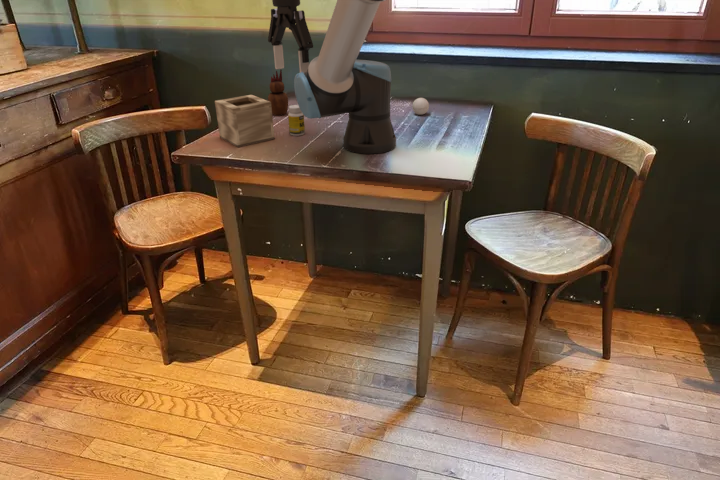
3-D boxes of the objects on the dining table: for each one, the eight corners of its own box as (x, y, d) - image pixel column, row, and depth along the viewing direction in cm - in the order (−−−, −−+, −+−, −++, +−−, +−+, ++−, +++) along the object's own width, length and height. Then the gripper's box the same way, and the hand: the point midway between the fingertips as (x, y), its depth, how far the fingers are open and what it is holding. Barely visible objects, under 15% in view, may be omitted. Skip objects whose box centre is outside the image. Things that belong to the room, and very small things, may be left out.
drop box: (274, 138, 153) (270, 102, 148) (237, 147, 147) (232, 109, 142) (255, 129, 162) (251, 94, 156) (220, 137, 155) (214, 100, 150)
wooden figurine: (291, 112, 179) (287, 68, 172) (286, 116, 174) (282, 71, 167) (272, 111, 180) (268, 67, 173) (267, 116, 175) (262, 71, 168)
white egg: (415, 111, 178) (415, 95, 176) (430, 113, 176) (431, 96, 173) (407, 117, 172) (407, 100, 170) (423, 119, 170) (424, 102, 167)
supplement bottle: (302, 136, 155) (300, 108, 151) (287, 135, 156) (285, 108, 152) (306, 131, 159) (305, 104, 155) (292, 131, 160) (290, 104, 156)
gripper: (323, -10, 132) (327, 75, 142) (274, -12, 149) (280, 64, 159) (298, -9, 128) (304, 79, 138) (251, -10, 145) (259, 67, 155)
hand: (291, 71), depth 149 cm, fingers open, 13 cm apart
